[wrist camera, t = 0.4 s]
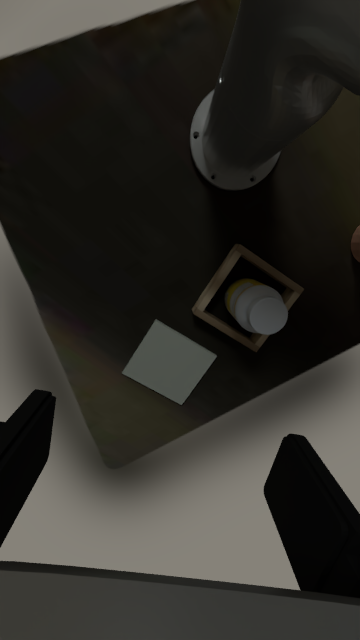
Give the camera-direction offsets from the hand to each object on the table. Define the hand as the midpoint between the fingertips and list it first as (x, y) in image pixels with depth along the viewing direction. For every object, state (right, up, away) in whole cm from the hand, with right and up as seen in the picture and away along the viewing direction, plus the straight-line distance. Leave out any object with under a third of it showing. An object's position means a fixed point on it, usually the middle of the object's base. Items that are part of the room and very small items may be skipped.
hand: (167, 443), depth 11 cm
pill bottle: (+11, +9, +33) cm, 36 cm away
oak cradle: (+11, +9, +33) cm, 35 cm away
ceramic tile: (-1, -2, +35) cm, 35 cm away
